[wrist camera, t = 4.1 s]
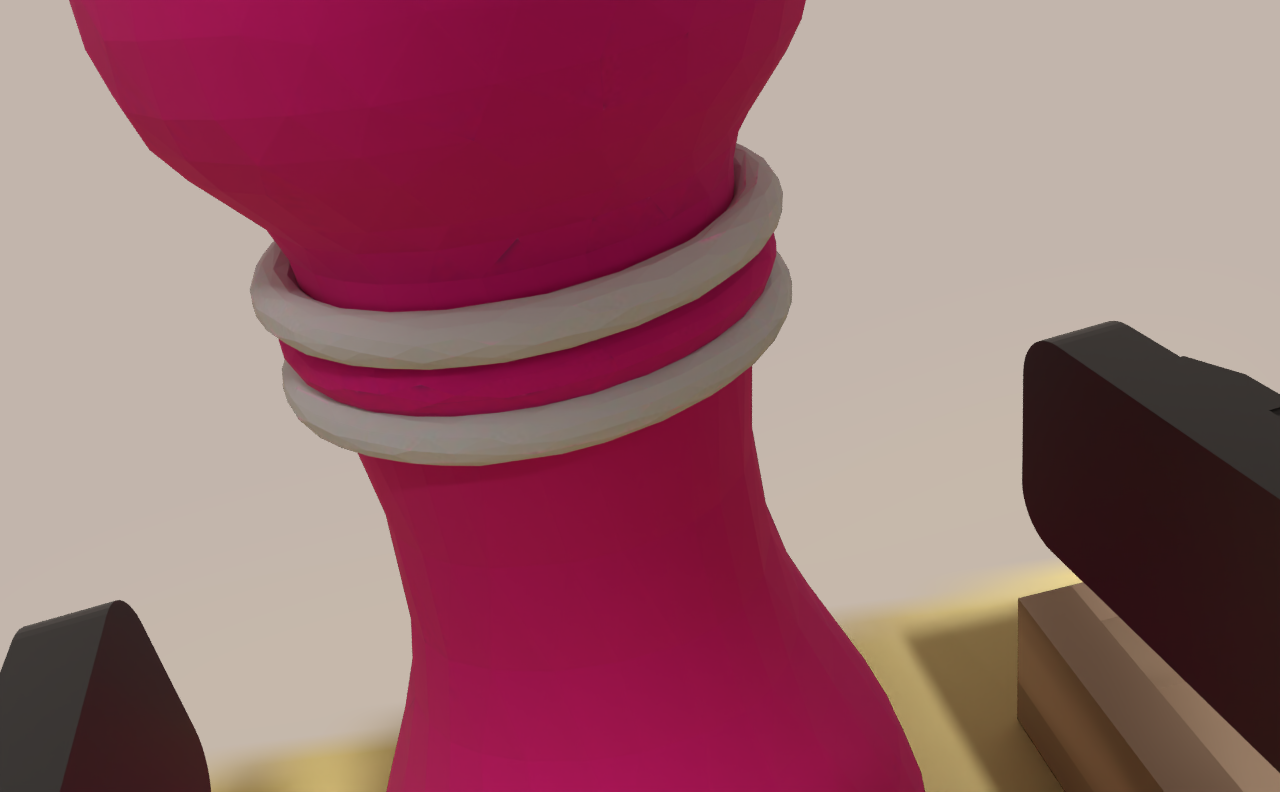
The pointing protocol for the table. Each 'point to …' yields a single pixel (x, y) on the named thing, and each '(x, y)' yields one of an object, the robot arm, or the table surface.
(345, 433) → the pepper mill
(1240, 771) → the tray
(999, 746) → the table surface
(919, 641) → the table surface
